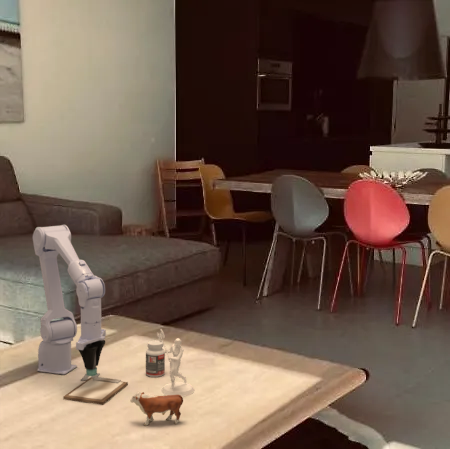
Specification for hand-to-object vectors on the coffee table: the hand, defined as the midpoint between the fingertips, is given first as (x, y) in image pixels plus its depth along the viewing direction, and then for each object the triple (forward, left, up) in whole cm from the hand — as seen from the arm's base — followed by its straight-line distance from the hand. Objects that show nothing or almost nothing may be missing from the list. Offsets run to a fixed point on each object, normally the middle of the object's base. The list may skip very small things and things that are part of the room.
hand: (91, 367), depth 215 cm
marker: (0, 0, -2) cm, 2 cm away
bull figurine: (+27, -17, -6) cm, 32 cm away
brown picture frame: (+3, -3, -6) cm, 7 cm away
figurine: (+24, +6, -6) cm, 25 cm away
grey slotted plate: (-4, +7, -6) cm, 10 cm away
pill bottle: (+13, +16, -6) cm, 21 cm away
